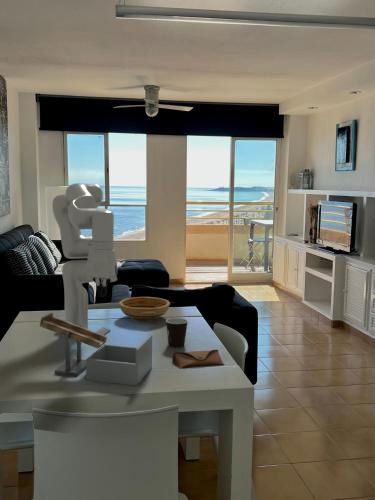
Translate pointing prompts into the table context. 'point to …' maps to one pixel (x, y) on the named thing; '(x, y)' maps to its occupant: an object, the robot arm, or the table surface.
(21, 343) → the table surface
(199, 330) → the table surface
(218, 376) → the table surface
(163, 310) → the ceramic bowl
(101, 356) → the bin
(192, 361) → the sunglasses case
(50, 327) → the chute
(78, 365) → the launcher stand
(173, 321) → the coffee mug
